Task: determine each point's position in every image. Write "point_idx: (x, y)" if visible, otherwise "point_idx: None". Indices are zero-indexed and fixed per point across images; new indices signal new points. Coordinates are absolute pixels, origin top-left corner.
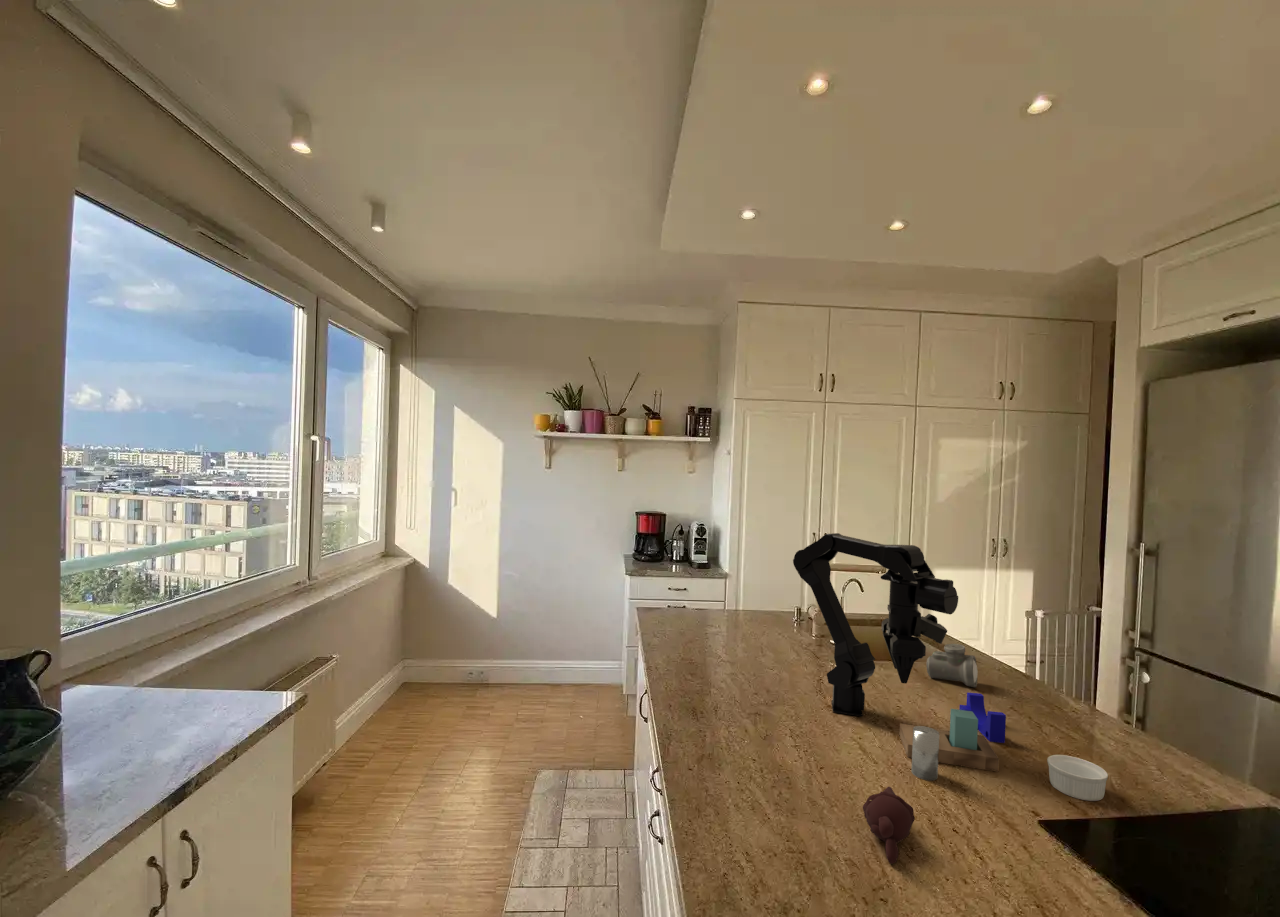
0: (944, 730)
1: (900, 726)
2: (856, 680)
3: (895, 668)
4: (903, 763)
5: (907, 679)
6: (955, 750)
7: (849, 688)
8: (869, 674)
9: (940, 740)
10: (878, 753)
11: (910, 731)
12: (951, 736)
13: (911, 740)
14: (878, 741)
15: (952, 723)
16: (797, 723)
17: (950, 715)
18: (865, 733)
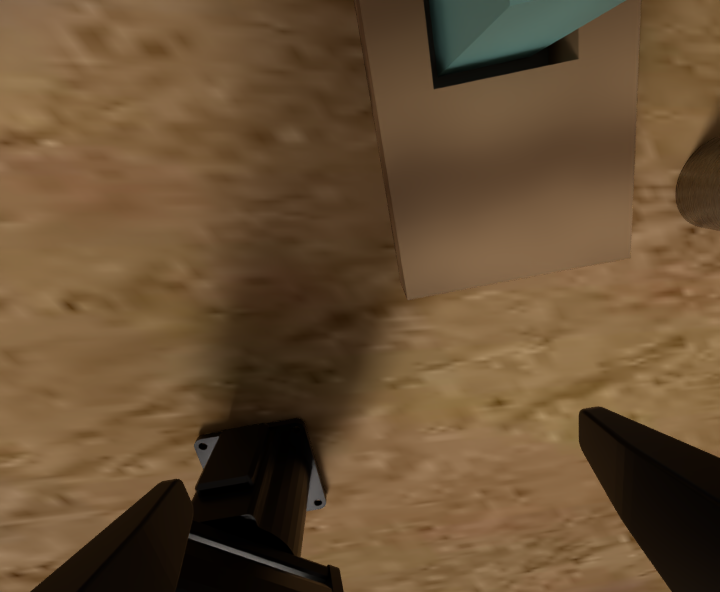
0: (382, 89)
1: (426, 294)
2: (327, 587)
3: (190, 507)
4: (653, 256)
5: (639, 428)
6: (624, 37)
7: (295, 551)
8: (220, 563)
9: (525, 113)
10: (601, 339)
11: (481, 253)
12: (495, 50)
13: (582, 245)
14: (498, 347)
15: (540, 22)
16: (475, 562)
17: (490, 25)
18: (448, 391)
